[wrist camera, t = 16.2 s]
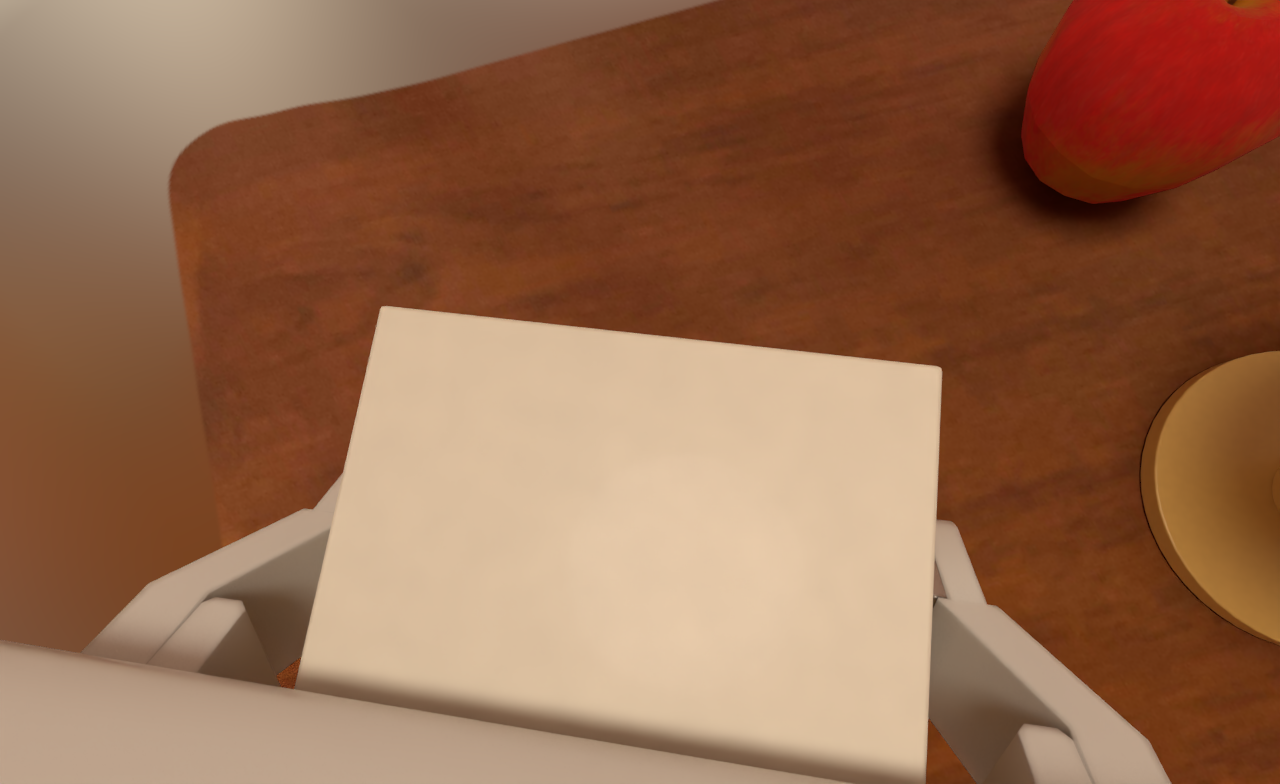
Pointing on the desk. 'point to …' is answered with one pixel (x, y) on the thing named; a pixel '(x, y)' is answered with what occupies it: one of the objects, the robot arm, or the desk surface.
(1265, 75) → the apple
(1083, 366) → the desk surface
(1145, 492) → the cake stand
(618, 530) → the cake slice
